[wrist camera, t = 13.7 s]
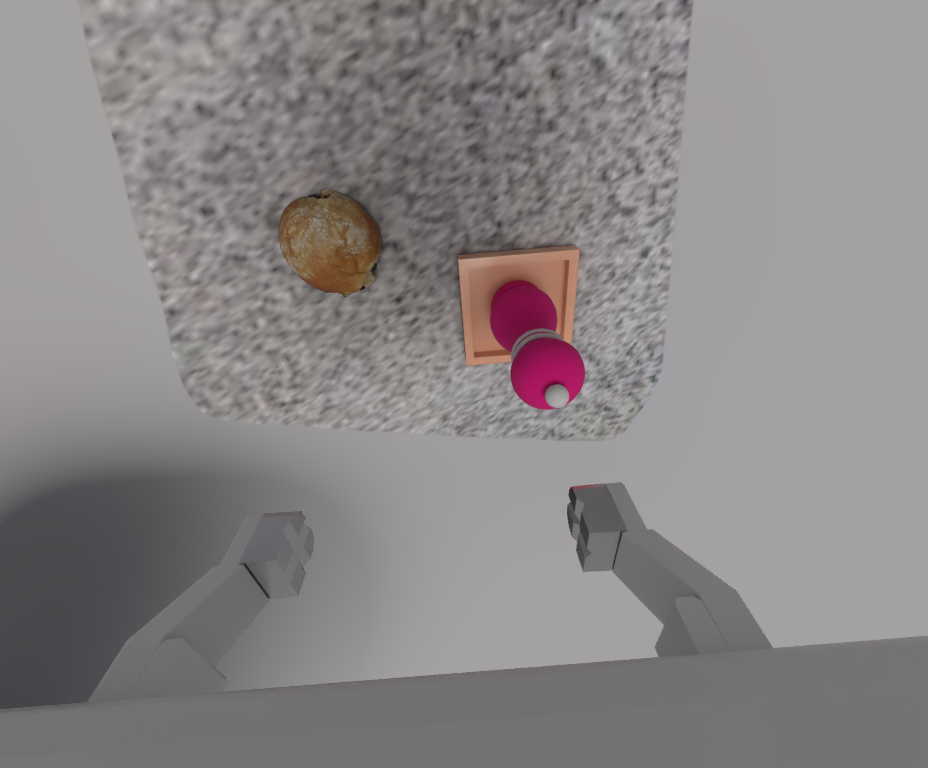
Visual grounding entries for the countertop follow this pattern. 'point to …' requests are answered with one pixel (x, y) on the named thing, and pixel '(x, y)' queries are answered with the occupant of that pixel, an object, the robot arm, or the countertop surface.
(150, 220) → the countertop surface
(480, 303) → the terracotta tray
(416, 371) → the countertop surface
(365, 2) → the countertop surface
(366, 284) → the bread roll
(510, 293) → the pepper mill
